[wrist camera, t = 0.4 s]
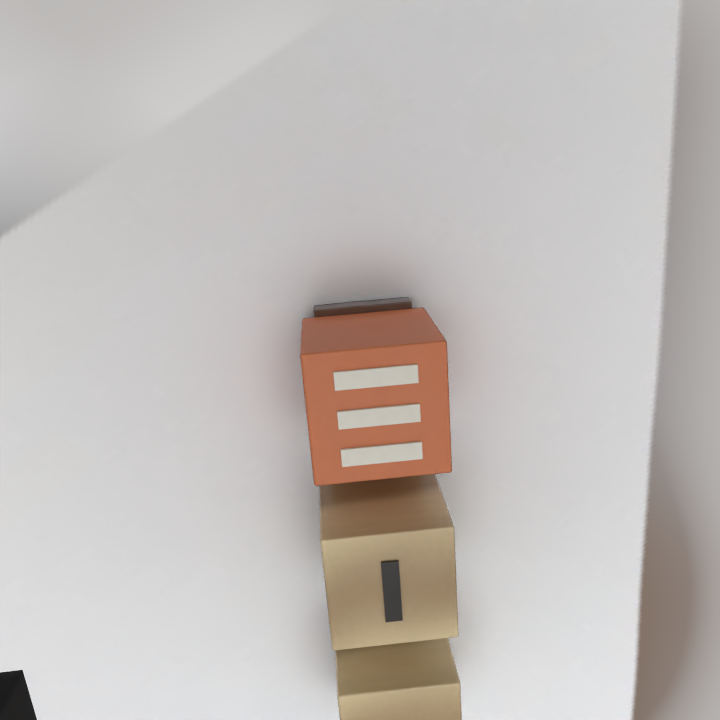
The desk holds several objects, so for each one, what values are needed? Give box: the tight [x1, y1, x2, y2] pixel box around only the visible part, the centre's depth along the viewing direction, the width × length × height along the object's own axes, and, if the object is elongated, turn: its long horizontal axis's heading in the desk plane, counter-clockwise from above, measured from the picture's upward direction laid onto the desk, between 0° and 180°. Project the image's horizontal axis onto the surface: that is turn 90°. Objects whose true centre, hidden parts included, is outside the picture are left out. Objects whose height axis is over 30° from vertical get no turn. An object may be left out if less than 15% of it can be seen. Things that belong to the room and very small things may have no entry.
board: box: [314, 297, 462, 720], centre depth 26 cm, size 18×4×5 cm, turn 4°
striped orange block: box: [300, 308, 452, 486], centre depth 24 cm, size 4×4×5 cm
